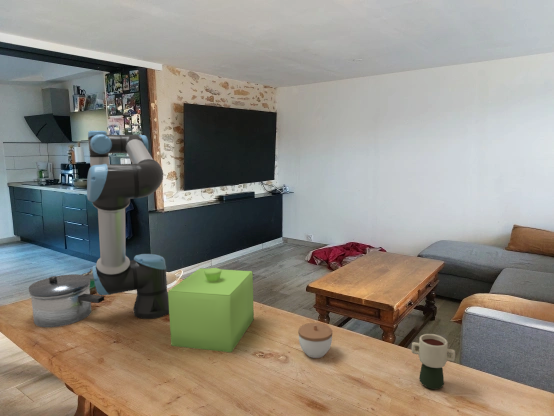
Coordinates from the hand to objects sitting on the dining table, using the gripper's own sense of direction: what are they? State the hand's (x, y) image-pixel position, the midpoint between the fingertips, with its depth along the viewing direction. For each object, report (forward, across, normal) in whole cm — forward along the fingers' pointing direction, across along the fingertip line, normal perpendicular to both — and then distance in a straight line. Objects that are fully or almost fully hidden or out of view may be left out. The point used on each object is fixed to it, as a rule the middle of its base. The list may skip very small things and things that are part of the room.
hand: (104, 220), depth 170 cm
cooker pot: (+34, -2, +24) cm, 42 cm away
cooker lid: (+22, +3, +24) cm, 33 cm away
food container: (+35, +10, +2) cm, 36 cm away
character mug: (+34, -133, +34) cm, 141 cm away
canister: (+34, -62, +21) cm, 74 cm away
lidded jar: (+34, -99, +26) cm, 108 cm away
